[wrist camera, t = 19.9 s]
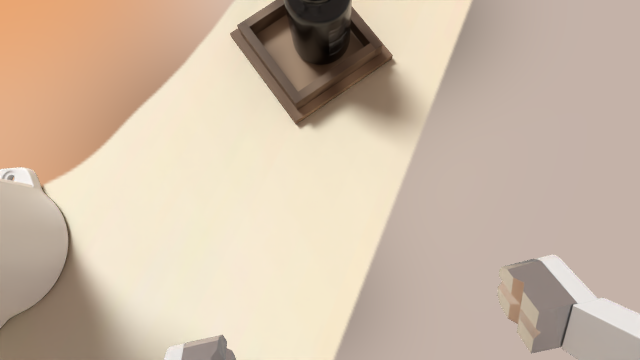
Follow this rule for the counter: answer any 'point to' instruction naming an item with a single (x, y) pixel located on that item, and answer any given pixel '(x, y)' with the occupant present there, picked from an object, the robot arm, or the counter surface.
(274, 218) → the counter surface
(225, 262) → the counter surface
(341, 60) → the walnut tray
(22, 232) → the robot arm
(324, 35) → the supplement bottle
